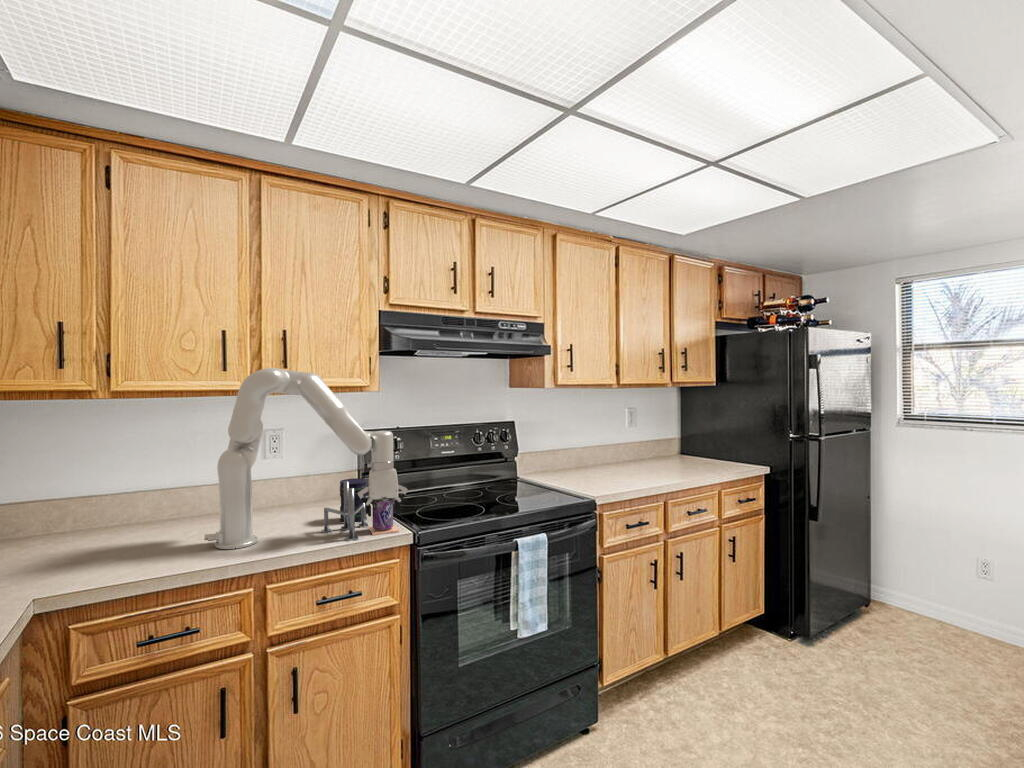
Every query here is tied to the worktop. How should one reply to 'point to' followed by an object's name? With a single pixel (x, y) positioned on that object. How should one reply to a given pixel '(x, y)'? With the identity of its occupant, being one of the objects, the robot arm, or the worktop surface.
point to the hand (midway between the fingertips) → (383, 514)
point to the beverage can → (382, 513)
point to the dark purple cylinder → (358, 486)
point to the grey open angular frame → (347, 513)
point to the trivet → (376, 532)
